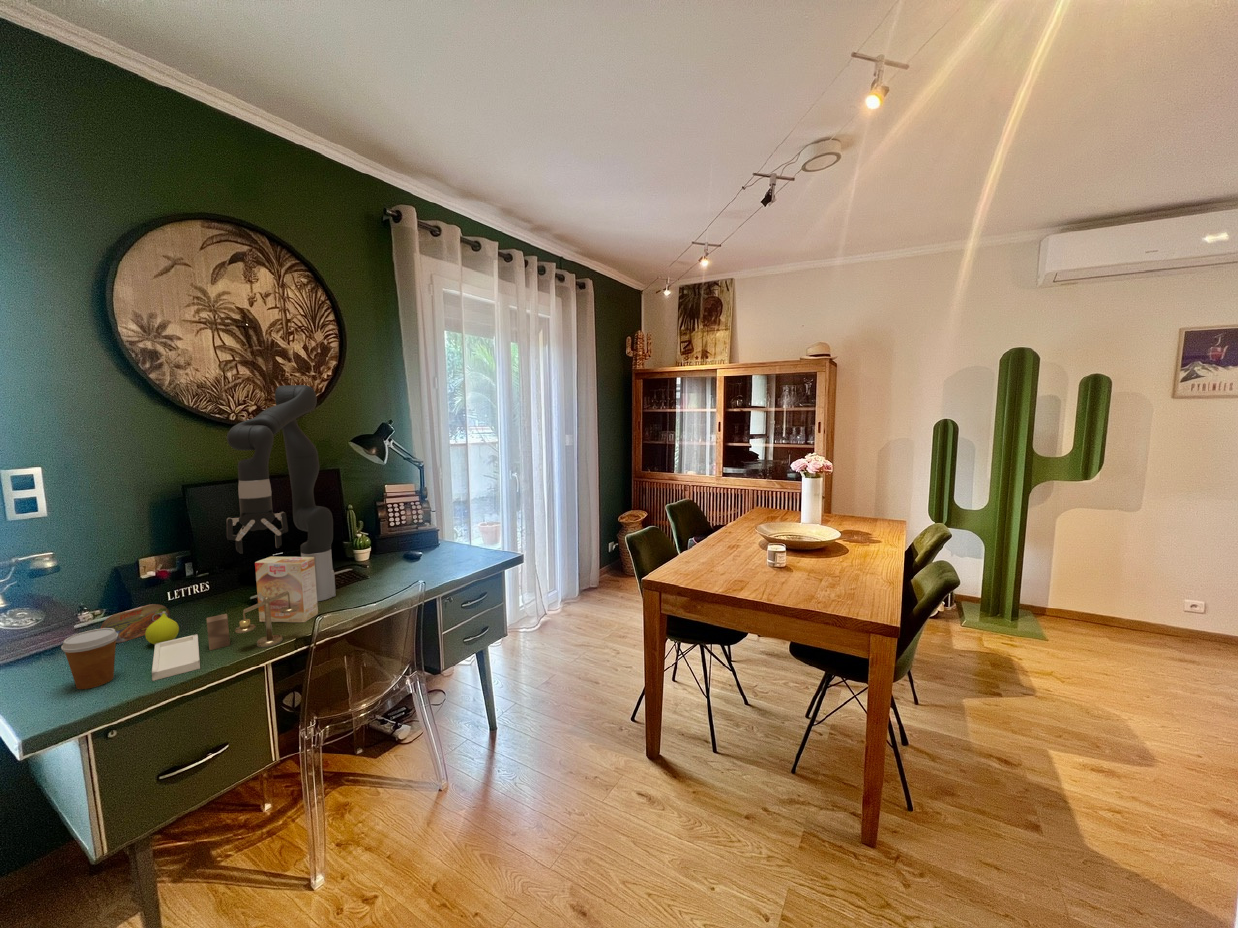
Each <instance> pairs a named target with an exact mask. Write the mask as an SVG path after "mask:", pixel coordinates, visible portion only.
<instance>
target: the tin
mask: <svg viewBox="0 0 1238 928" xmlns="http://www.w3.org/2000/svg"><path fill="white" fill-rule="evenodd" d="M163 611H166V612H165V614H166V616H167V617H168V618H170V616H171V615H170V611H169V608H167V607H166V606H165V605H162V604H155V603H153V604H151V603H150V604H146V605H142V606H139V607H135V608H132V609H129V610H125V611H122V612H118V613H114V614H111V615H110V616H108V617H107V618H106V619H105V620H104V621H103V622H102V623H101V626H100V629H102V628H112V629H115V631H116V633H118V637H117V639H116V644H120V643H124V642H128V641H131V640H133V639H137V638H140V637H143V636H145V632H146V630H147V628H148V627H149V626H150V625H151V624H152V623H153V622H155V621H156V620H158V619H159V618H160V617H161V616H162V614H163ZM170 619H171V618H170Z"/></svg>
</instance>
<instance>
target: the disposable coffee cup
mask: <svg viewBox="0 0 1238 928" xmlns="http://www.w3.org/2000/svg"><path fill="white" fill-rule="evenodd" d="M117 637H118V633H116V631H115V629H112V628H102V629H101V628H96V629H90V630H87V631H83V632H79V633H76V634H73V635H70V636H69V637H67V638H65V639H64V640H63V643H62V645H61V646H60V649H61V650H62V651H63V652H64V653H65V656H66V659H67V662H68V667H69V669H70V673H71V675H72V678H73V681H74V683H75V686H76V687H75V688H76V689H77V690H88V689H93V688H96V687H100V686H103V685H104V684H108V683H110V682H111V681H112V680H113V679H114V675H115V659H116V646H117V643H116V639H117Z"/></svg>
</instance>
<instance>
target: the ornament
mask: <svg viewBox="0 0 1238 928" xmlns="http://www.w3.org/2000/svg"><path fill="white" fill-rule="evenodd" d="M165 612H166V611H163V614H162V616H161V617H160V618H159V619H158V620H156V621H155V622H153V623H152V624H151V625H150V626H149V627H148V628H147V630H146V632H145V635H144V636H145V640H146V641H147V642H149V644H152V645H155V644H156V643H161V642H165V641H170V640H174V639H176V637H177V636H178V634H179V631H180V627H179V624H178V622H176V621H175V620H173V619H172V618H168V617H167V616H166V614H165Z"/></svg>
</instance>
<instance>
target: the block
mask: <svg viewBox="0 0 1238 928" xmlns="http://www.w3.org/2000/svg"><path fill="white" fill-rule="evenodd" d="M206 628H207V638H208V647H209V651H213V650H216V649H217V650H218V649H220V648H225V647H229V646H231V642H230V631H229V630H230V629H229V619H228V614H227V613H222V614H218V615H214V616H210V617H206Z"/></svg>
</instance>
